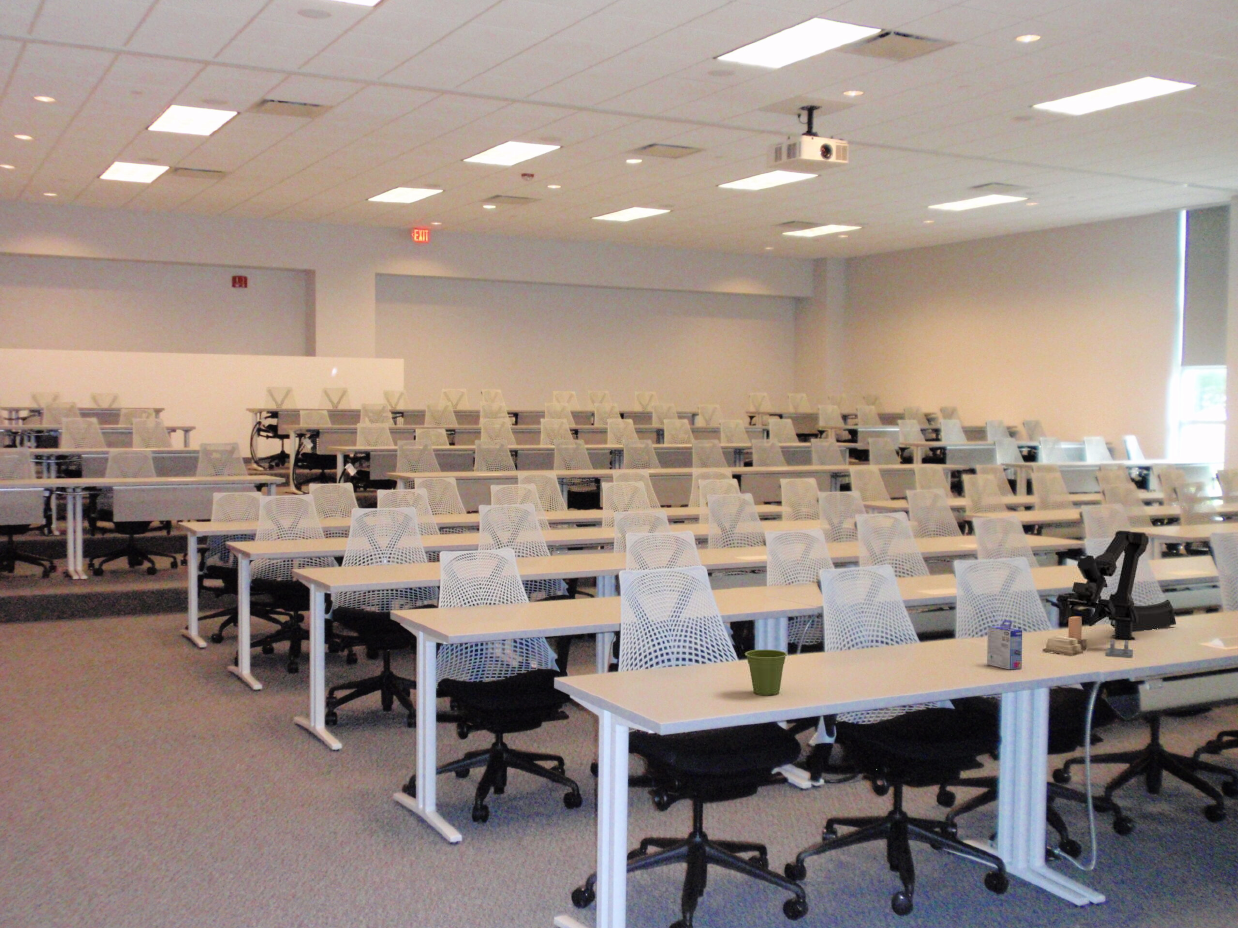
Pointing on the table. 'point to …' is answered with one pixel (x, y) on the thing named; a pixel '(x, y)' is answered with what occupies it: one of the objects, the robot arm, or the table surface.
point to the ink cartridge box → (1004, 646)
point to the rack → (1066, 645)
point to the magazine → (1153, 616)
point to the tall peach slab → (1075, 627)
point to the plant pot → (766, 670)
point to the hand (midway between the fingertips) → (1076, 623)
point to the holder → (1119, 650)
